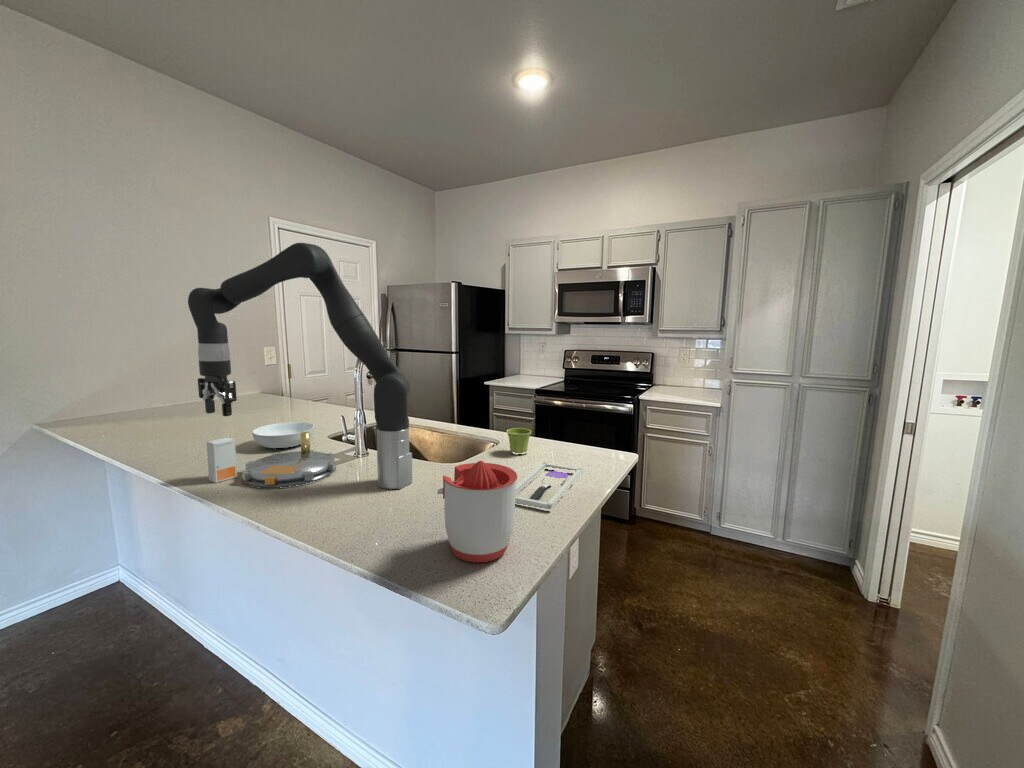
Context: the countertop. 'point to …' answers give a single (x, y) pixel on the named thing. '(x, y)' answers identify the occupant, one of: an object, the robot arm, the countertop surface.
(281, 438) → the serving bowl
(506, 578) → the countertop surface
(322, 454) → the sprocket
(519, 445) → the plant pot
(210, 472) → the skincare box
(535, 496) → the spatula
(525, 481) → the utensil tray
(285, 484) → the plate
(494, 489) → the citrus juicer
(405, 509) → the countertop surface
